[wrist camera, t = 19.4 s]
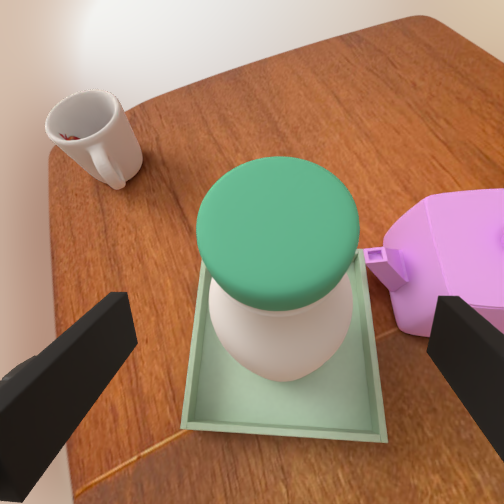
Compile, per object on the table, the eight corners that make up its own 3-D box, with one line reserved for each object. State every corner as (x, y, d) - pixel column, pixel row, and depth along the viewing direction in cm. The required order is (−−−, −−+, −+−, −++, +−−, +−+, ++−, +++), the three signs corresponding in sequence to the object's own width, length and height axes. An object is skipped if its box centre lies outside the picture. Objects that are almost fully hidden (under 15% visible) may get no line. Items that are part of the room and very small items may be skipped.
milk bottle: (288, 403, 24) (307, 459, 5) (220, 340, 26) (80, 238, 8) (342, 328, 26) (485, 189, 7) (274, 277, 28) (258, 83, 10)
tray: (189, 425, 24) (179, 429, 22) (208, 259, 30) (203, 248, 28) (377, 437, 22) (388, 443, 20) (357, 259, 29) (363, 248, 26)
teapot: (350, 342, 25) (389, 318, 16) (338, 236, 30) (362, 169, 21) (577, 344, 24) (765, 318, 14) (528, 231, 28) (648, 155, 19)
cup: (165, 193, 34) (134, 142, 27) (101, 220, 34) (52, 175, 26) (142, 135, 39) (110, 78, 32) (85, 158, 38) (39, 105, 31)
